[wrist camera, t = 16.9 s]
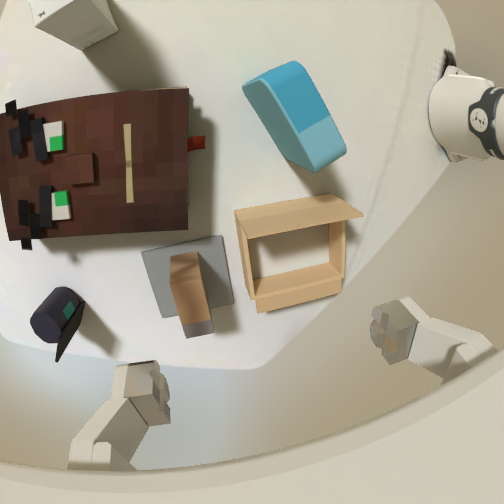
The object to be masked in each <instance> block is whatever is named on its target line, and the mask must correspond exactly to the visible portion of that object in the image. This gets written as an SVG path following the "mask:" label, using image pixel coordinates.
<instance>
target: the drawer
mask: <svg viewBox="0 0 504 504" xmlns="http://www.w3.org/2000/svg"><path fill="white" fill-rule="evenodd" d="M234 214H235V221H236V227H237V234H238V240H239V247H240V253H241V260H242V266H243V273H244V279H245V285H246V288H247V290H248V293H249V295H250V298H251V300H255V301H256V308H257V313H263V312H267V311H271V310H275V309H279V308H283V307H287V306H291V305H295V304H299V303H303V302H307V301H311V300H315V299H319V298H322V297H326V296H330V295H333V294H337V293H341V287H342V279H341V278H344V272H345V220H348V219H353V218H358V217H363V213H362V212H360V211H359V210H357V209H356V208H354V207H352V206H351V205H349V204H348V203H346V202H345V201H343V200H341V199H340V198H338V197H336V196H335V195H333V194H332V193H331V194H325V195H319V196H313V197H307V198H301V199H295V200H289V201H283V202H278V203H272V204H266V205H261V206H255V207H250V208H245V209H239V210H234ZM327 223H329V263H324V264H320V265H316V266H312V267H307V268H303V269H299V270H294V271H290V272H286V273H281V274H277V275H272V276H268V277H263V278H259V279H254V280H253V279H252V272H251V265H250V258H249V251H248V244H247V238H248V239H251V238H256V237H261V236H266V235H271V234H276V233H281V232H286V231H291V230H296V229H301V228H307V227H312V226H317V225H322V224H327ZM246 236H247V237H246Z"/></svg>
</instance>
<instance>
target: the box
mask: <svg viewBox="0 0 504 504" xmlns="http://www.w3.org/2000/svg"><path fill="white" fill-rule="evenodd" d="M170 288H171V291H172V295H173V298H174V301H175V304H176V308H177V311H178V314H179V317H180V320H181V323H182V327H183V330H184V333H185V336H186V338H191V337H197V336H201V335H206V334H211V333H214V327H213V322H212V317H211V311H210V306H209V301H208V296H207V292H206V288H205V284H204V280H203V275H202V271H201V267H200V262H199V258H198V253H197V251H193V252H189V253H184V254H179V255H174V256H170Z"/></svg>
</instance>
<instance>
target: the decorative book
mask: <svg viewBox="0 0 504 504" xmlns="http://www.w3.org/2000/svg"><path fill="white" fill-rule="evenodd" d="M188 99H189V88H187V87H171V88H156V89H144V90H134V91H125V92H115V93H106V94H98V95H90V96H83V97H77V98H70V99H65V100H59V101H54V102H48V103H43V104H39V105H34V106H30V107H25V108H21V109H17V107H16V100H13V101H11V102H9V103H6V104H5V107H6V112H5V113H2V114H0V194H1V201H2V207H3V212H4V218H5V223H6V228H7V232H8V237H9V241H15V240H21V245H22V250H32V244H31V239H42V238H54V237H68V236H83V235H99V234H115V233H133V232H152V231H172V230H188V206H189V202H188V174H187V152H190V151H192V150H197V149H206V146H205V136H196V137H190V138H187V136H188Z"/></svg>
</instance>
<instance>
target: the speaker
mask: <svg viewBox="0 0 504 504" xmlns="http://www.w3.org/2000/svg"><path fill="white" fill-rule="evenodd" d="M84 306H85V301H83V302H82V304H81V305H80V303H79V300H78V298H77V296H76V295H75V294H74V293H73V292H72V291H71V290H70V289H69V288H66V287H58V288H55V289H54V290H53V291H52V293H51V294H50V295H49V296H48V297H47V298H46V299H45V300H44V302H43V303H42V304H41V305H40V306H39V307H38V308H37V310H36V311H35V312H34V313H33V315H32V317H31V319H30V324H31V326H32V328H33V330H34V332H35V334H36V335H37V336H38V337H39V338H41V339H42V340H43V341H44V342H47V343H58V345H57V352H56V359H55V361H56V362H58V361H59V359H60V357H61V356H62V354H63V352H64V351H65V349H66V347H67V345H68V344H69V342H70V340H71V339H72V337H73V335H74V334H75V332H76V330H77V329H78V327H79V326H80V322H81V318H82V314H83V310H84Z"/></svg>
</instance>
